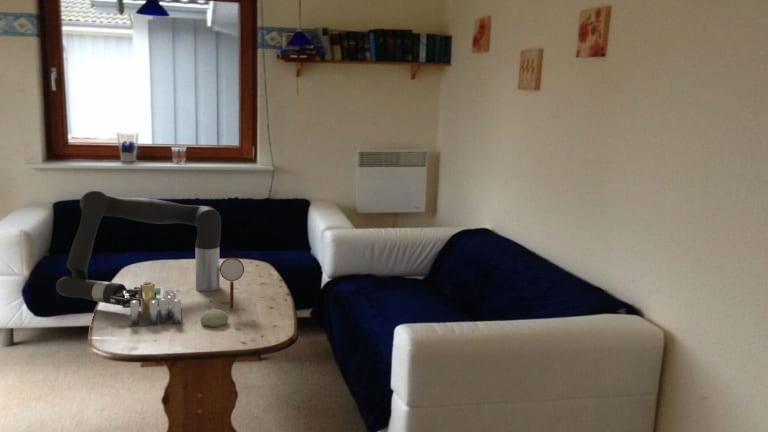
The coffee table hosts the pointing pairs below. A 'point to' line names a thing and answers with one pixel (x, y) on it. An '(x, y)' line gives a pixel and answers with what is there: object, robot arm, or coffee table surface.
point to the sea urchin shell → (214, 318)
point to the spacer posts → (167, 310)
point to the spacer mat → (147, 323)
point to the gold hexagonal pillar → (146, 298)
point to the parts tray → (158, 294)
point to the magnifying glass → (231, 274)
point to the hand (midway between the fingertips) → (148, 298)
